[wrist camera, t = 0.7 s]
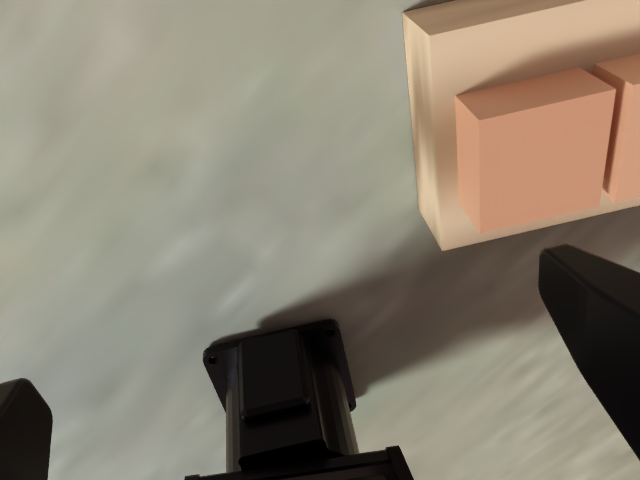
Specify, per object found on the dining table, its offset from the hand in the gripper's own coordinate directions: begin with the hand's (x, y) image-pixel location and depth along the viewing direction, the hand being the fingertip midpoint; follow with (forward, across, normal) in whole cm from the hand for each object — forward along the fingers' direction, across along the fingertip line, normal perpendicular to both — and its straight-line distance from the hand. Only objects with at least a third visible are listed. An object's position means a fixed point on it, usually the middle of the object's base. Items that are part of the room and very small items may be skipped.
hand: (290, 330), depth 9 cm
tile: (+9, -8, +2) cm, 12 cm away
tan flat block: (+12, -10, +2) cm, 16 cm away
